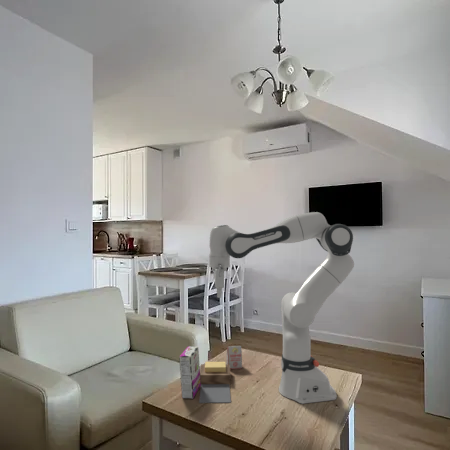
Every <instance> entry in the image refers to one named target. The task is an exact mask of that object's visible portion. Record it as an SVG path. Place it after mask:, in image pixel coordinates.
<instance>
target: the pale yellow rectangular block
mask: <svg viewBox="0 0 450 450" xmlns="http://www.w3.org/2000/svg"><path fill="white" fill-rule="evenodd" d="M204 364H205V372H226V364H227V363H226V361H205V363H204Z"/></svg>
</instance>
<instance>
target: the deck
mask: <svg viewBox="0 0 450 450" xmlns="http://www.w3.org/2000/svg"><path fill="white" fill-rule="evenodd" d="M200 364H201V363H200ZM225 364H226V372H205V363H204V364H201V365H200V379H201V384H229V385H230V386H231V385H232V383H231V381H232V380H231V369H230V364H227V363H225Z"/></svg>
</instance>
